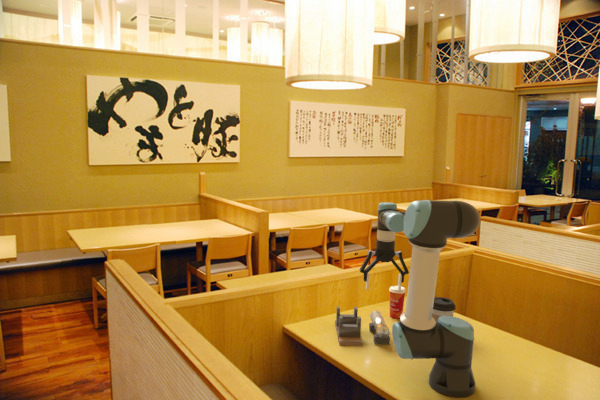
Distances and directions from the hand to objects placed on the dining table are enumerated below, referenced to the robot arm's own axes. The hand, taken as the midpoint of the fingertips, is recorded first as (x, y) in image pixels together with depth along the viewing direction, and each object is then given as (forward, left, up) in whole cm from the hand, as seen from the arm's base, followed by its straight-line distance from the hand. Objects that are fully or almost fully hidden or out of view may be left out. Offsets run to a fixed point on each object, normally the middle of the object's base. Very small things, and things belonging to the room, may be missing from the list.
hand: (383, 289), depth 201 cm
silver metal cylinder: (-2, +1, -17) cm, 17 cm away
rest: (-2, +1, -20) cm, 20 cm away
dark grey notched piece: (0, +14, -20) cm, 24 cm away
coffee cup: (+2, -26, -20) cm, 33 cm away
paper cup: (+21, -11, -20) cm, 31 cm away
